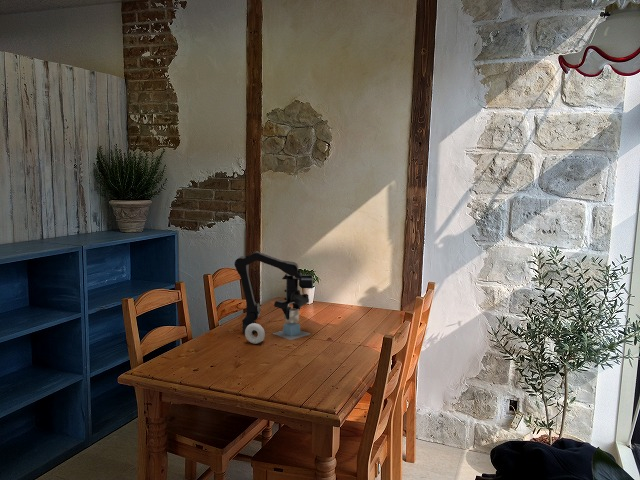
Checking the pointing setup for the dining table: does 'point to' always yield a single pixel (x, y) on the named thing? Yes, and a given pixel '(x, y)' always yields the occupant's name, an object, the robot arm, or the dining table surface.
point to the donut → (259, 330)
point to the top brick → (293, 315)
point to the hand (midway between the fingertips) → (291, 318)
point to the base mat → (291, 336)
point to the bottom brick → (291, 329)
